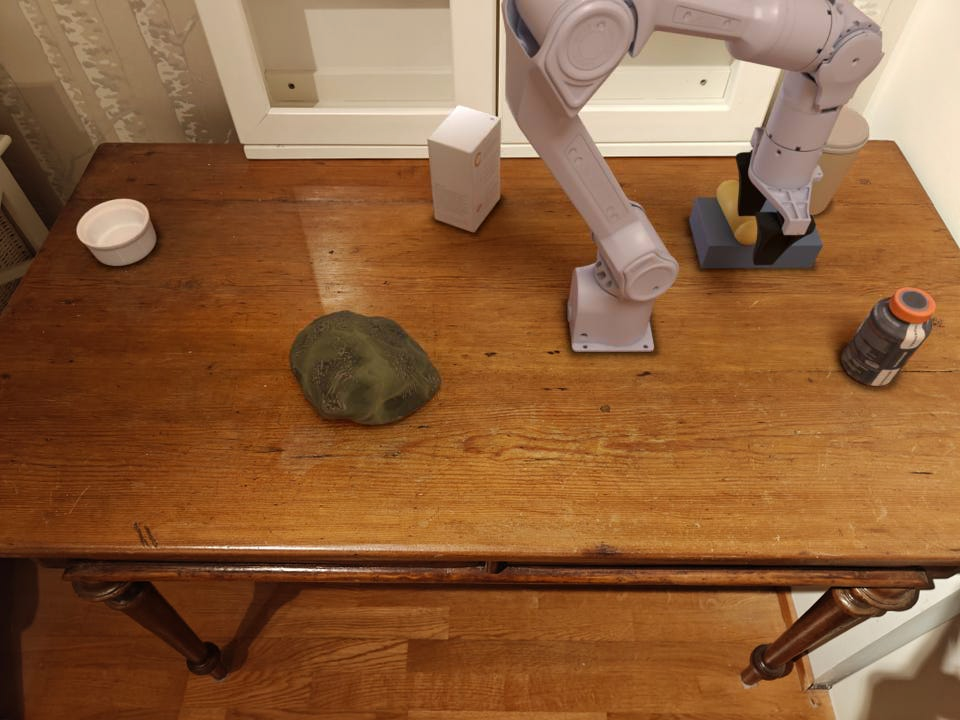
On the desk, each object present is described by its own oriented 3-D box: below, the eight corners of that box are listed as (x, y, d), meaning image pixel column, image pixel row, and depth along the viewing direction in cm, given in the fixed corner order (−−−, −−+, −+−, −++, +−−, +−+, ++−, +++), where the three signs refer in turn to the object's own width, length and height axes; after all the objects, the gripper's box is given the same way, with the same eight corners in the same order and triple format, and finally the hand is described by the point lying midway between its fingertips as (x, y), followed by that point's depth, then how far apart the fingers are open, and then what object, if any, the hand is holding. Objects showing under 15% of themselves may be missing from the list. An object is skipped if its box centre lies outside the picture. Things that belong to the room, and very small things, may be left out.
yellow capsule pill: (770, 227, 82) (741, 233, 83) (765, 247, 85) (737, 253, 85) (741, 171, 89) (714, 176, 89) (737, 192, 91) (711, 197, 92)
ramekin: (143, 274, 89) (129, 249, 86) (78, 266, 90) (62, 242, 87) (172, 226, 95) (160, 201, 91) (110, 220, 95) (96, 195, 92)
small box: (461, 185, 99) (457, 103, 89) (501, 198, 97) (502, 116, 87) (432, 219, 95) (425, 138, 84) (474, 234, 93) (472, 153, 83)
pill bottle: (898, 391, 78) (952, 327, 69) (842, 383, 78) (889, 318, 69) (890, 349, 81) (941, 283, 72) (837, 342, 82) (881, 274, 73)
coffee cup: (841, 190, 98) (880, 114, 88) (822, 229, 93) (861, 154, 84) (776, 168, 101) (806, 92, 91) (754, 205, 96) (784, 130, 87)
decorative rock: (407, 324, 86) (405, 261, 79) (450, 421, 76) (453, 360, 69) (285, 351, 82) (271, 287, 74) (313, 458, 72) (301, 396, 65)
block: (701, 268, 89) (709, 245, 86) (688, 220, 94) (695, 197, 91) (811, 268, 89) (823, 245, 86) (792, 219, 94) (803, 196, 91)
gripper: (863, 182, 62) (809, 285, 73) (817, 88, 71) (774, 193, 82) (783, 183, 62) (741, 286, 73) (747, 90, 71) (714, 194, 82)
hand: (754, 237), depth 78 cm, fingers open, 7 cm apart
